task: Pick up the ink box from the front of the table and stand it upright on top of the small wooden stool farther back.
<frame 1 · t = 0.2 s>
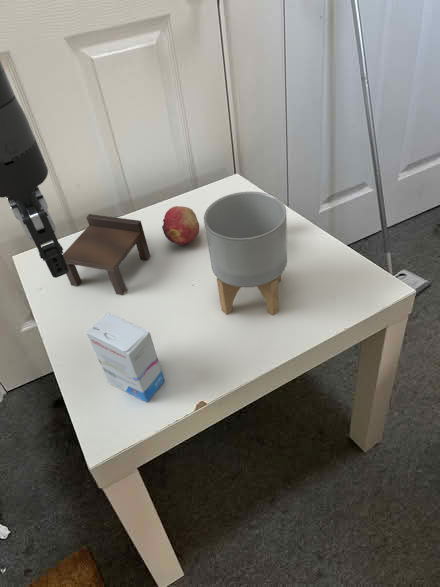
hand: (53, 257, 62), 22 cm above the table, tool pointing down, fingers open, 8 cm apart
ink box: (136, 381, 73), on the table
fruit: (184, 242, 98), on the table
planter: (252, 295, 84), on the table
small wooden stool: (111, 270, 94), on the table
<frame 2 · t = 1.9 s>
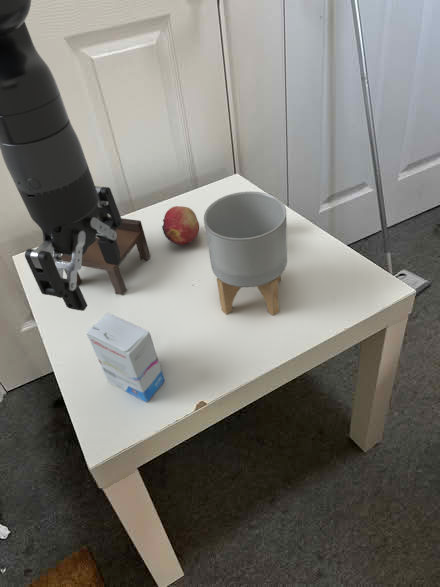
hand: (97, 284, 58), 21 cm above the table, tool pointing down, fingers open, 8 cm apart
nothing on the table moved.
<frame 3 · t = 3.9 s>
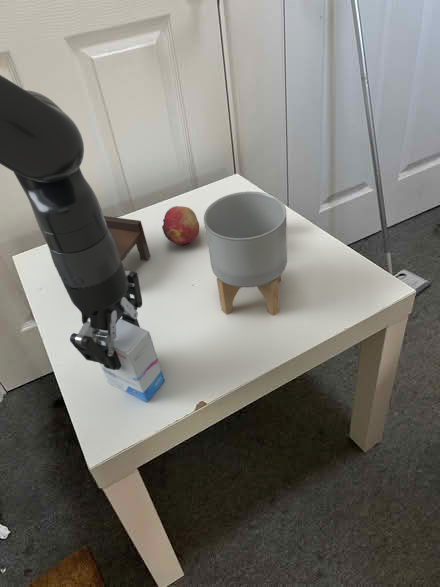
hand: (124, 350, 68), 8 cm above the table, tool pointing down, fingers closed on ink box, 5 cm apart
ink box: (136, 381, 73), on the table, touching gripper
everything else where it was.
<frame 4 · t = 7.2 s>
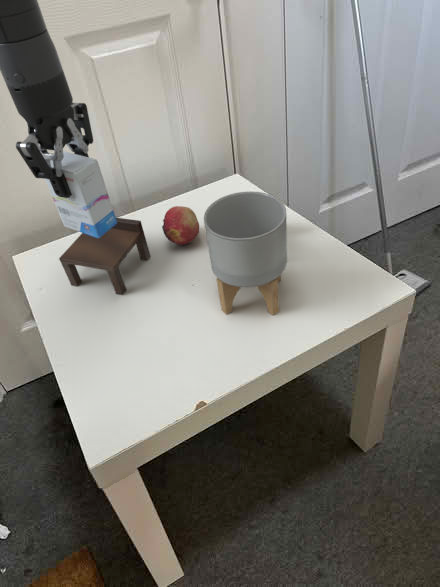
hand: (76, 185, 72), 24 cm above the table, tool pointing down, fingers closed on ink box, 5 cm apart
ink box: (91, 225, 77), point 16 cm above the table, touching gripper
everything else where it was.
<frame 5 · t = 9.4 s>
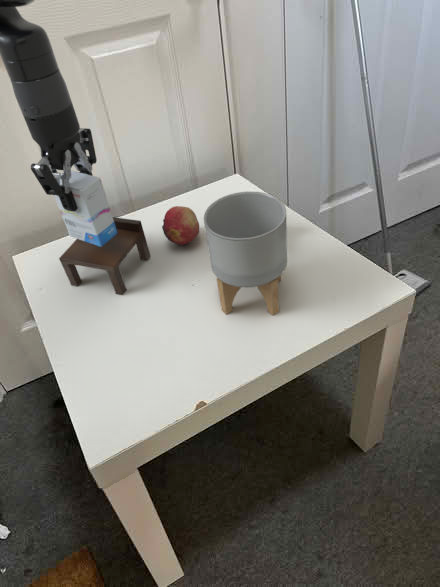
hand: (81, 200, 81), 17 cm above the table, tool pointing down, fingers closed on ink box, 5 cm apart
ink box: (94, 235, 86), point 10 cm above the table, touching gripper
everything else where it was.
when the fingers open (15 cm above the table, at t = 10.9 s): ink box stays where it is, resting on small wooden stool.
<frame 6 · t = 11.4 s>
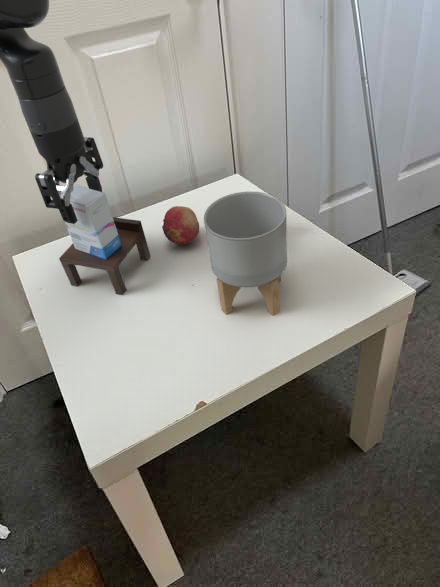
hand: (85, 208, 82), 16 cm above the table, tool pointing down, fingers open, 8 cm apart
ink box: (99, 247, 88), point 7 cm above the table, touching small wooden stool
everything else where it was.
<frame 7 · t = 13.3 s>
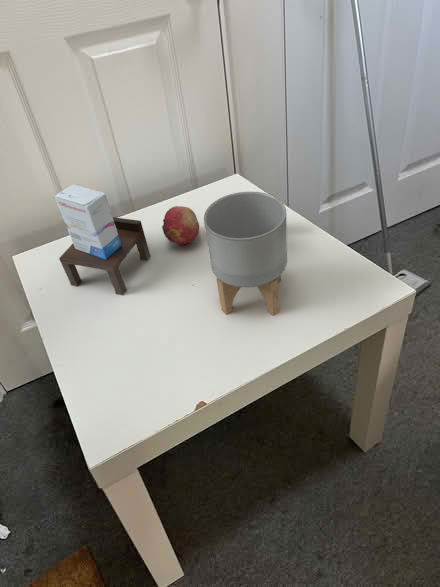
nothing on the table moved.
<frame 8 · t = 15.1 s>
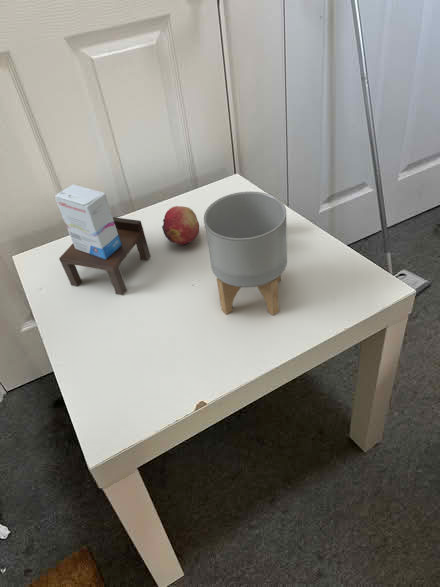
nothing on the table moved.
at the end: ink box inside the target area on the small wooden stool (0.7 cm from its centre), point 6.8 cm above the small wooden stool's base; ink box tilted 0°; the gripper is holding nothing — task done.
